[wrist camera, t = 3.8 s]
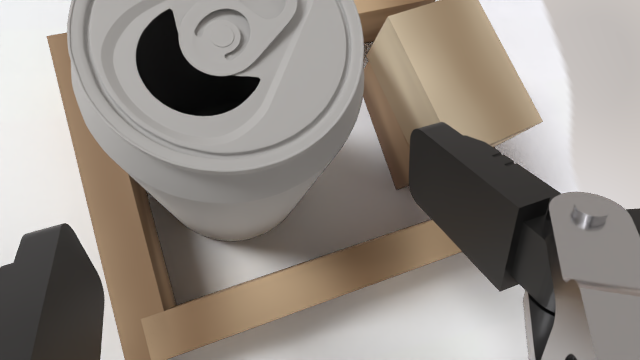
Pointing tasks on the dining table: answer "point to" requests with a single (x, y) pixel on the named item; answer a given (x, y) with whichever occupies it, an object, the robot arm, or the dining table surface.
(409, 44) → the birch offcut
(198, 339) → the frame
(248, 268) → the dining table surface
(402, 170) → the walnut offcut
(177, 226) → the dining table surface
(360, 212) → the dining table surface
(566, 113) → the dining table surface
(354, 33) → the beverage can
